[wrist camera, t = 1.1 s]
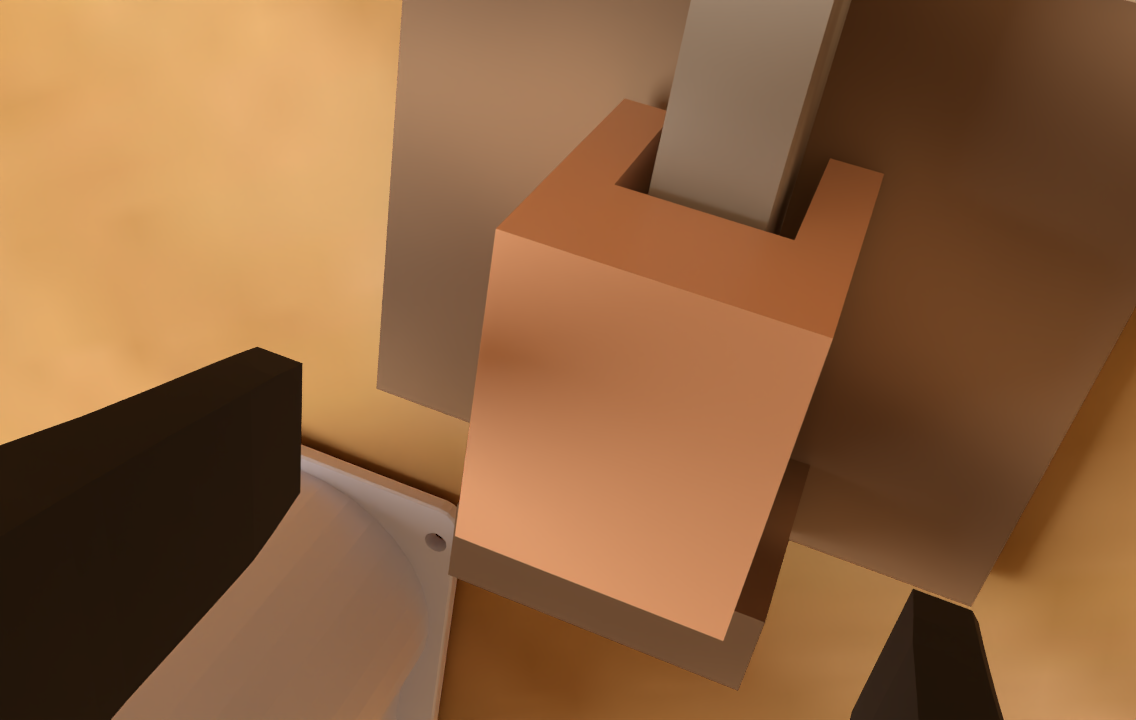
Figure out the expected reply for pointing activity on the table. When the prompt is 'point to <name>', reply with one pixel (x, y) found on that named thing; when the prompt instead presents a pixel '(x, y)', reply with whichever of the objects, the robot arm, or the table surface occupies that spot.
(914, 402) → the rail board
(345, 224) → the table surface
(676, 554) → the sleeve
